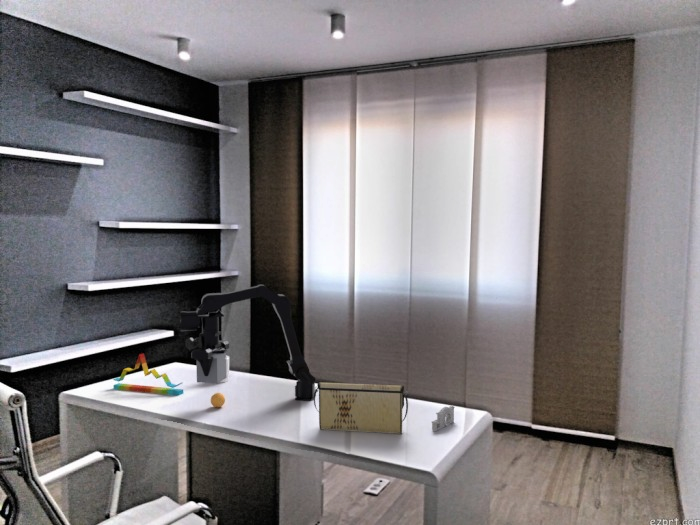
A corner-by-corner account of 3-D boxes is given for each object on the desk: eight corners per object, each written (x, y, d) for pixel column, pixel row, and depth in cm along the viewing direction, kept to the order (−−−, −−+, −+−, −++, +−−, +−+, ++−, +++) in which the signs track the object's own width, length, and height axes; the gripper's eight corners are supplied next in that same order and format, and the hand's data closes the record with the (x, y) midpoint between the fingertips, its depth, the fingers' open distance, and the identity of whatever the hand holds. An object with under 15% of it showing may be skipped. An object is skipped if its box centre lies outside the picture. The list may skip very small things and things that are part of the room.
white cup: (227, 383, 234) (227, 359, 234) (208, 383, 234) (207, 359, 234) (231, 378, 242) (231, 355, 241) (213, 378, 242) (212, 355, 242)
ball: (211, 396, 205) (219, 407, 204) (205, 400, 200) (214, 412, 199) (221, 388, 204) (230, 399, 204) (215, 392, 199) (224, 403, 199)
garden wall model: (435, 432, 175) (435, 413, 175) (430, 430, 176) (430, 412, 176) (455, 422, 184) (455, 404, 184) (450, 420, 186) (450, 403, 185)
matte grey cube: (226, 377, 205) (226, 353, 204) (217, 383, 197) (216, 358, 197) (206, 376, 206) (206, 352, 206) (196, 382, 199) (196, 357, 198)
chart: (183, 394, 220) (183, 355, 219) (178, 396, 217) (177, 357, 216) (119, 387, 229) (118, 350, 229) (113, 389, 226) (112, 352, 226)
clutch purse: (409, 428, 179) (409, 381, 178) (407, 436, 172) (407, 387, 171) (316, 423, 184) (316, 377, 183) (311, 430, 177) (311, 383, 177)
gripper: (201, 324, 212) (202, 366, 212) (176, 333, 193) (177, 379, 194) (229, 325, 210) (230, 367, 210) (206, 334, 191) (207, 380, 192)
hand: (211, 373), depth 202 cm, fingers closed on matte grey cube, 8 cm apart
